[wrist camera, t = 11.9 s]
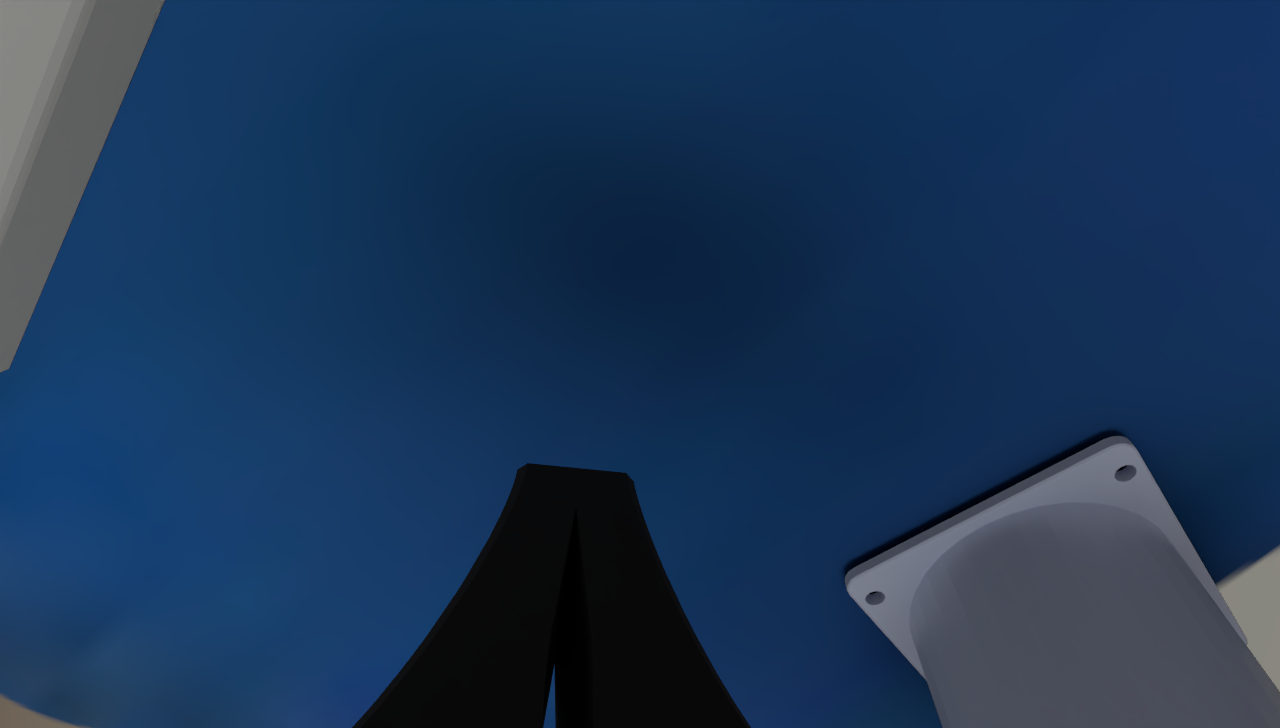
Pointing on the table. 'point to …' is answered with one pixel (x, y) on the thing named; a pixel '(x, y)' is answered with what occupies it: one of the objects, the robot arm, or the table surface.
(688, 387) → the table surface
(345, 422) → the table surface
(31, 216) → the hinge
